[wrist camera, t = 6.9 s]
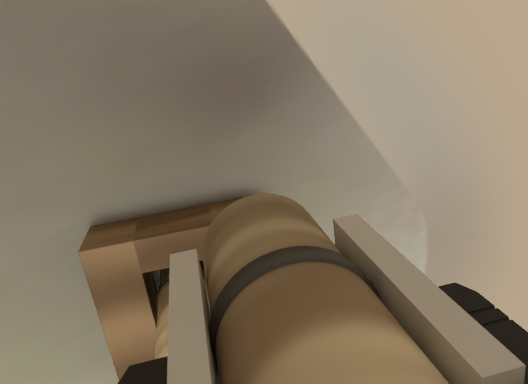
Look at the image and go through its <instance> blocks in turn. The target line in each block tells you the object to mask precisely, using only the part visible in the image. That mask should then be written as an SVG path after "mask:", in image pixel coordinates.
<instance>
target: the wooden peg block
mask: <svg viewBox="0 0 528 384" xmlns="http://www.w3.org/2000/svg"><path fill="white" fill-rule="evenodd" d="M239 199H242V198H238V199H233V200H228V201H223V202H218V203H213V204H208V205H202V206H197V207H192V208H187V209H182V210H177V211H172V212H166V213H161V214H156V215H151V216H146V217H141V218H136V219H130V220H125V221H120V222H115V223H110V224H105V225H99V226H94V227H90V229H89V231H88V233H87V235H86V237H85V239H84V241H83V243H82V245H81V247H80V250H79V252H78V253H79V256H80V259H81V263H82V266H83V269H84V272H85V275H86V278H87V281H88V284H89V288H90V291H91V294H92V297H93V300H94V303H95V306H96V309H97V313H98V316H99V319H100V322H101V325H102V328H103V331H104V334H105V338H106V341H107V344H108V347H109V350H110V353H111V356H112V359H113V362H114V366H115V369H116V372H117V375H118V378H119V381H120V379H121V378H122V376H123V375H124V373H125V372H126V370H127V368H128V367H129V366H130V365H134V364H138V363H142V362H146V361H150V360H154V359H158V358H162V357H166V356H168V317H169V273H170V254H174V253H178V252H183V251H188V250H192V249H197V254H198V258H199V263H200V268H201V272H202V277H203V281H204V286H205V290H206V295H207V300H208V292H207V285H206V278H205V270H204V263H203V256H202V252H203V242H204V238H205V235H206V232H207V230H208V228H209V226H210V225H211V223H212V221H213V220H214V219H215V218H216V216H217V215H218V214H219V213H220V212H221V211H222V210H223V209H224V208H226V207H227V206H229V205H230V204H232V203H233V202H235V201H237V200H239ZM156 270H160V285H159V292H158V294H157V290H156V286H155V282H154V278H153V274H152V271H156ZM208 304H209V300H208ZM209 309H210V307H209Z"/></svg>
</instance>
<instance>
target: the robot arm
mask: <svg viewBox="0 0 528 384" xmlns="http://www.w3.org/2000/svg"><path fill="white" fill-rule="evenodd" d="M333 224H334V235H335V246H336V247H337V248H338V250H339V251H340V252H341V253H342V254H343V256H345V257H347V258H348V259H349V260H351V261H352V262H353V263H355V264H356V266H357V267H358V268H359V269H360V270H361V271H362V272H363V273H364V274H365V276H366V277H367V278H368V279H369V280H370V281H371V283H372V284H373V286H374V287H375V289H376V290H377V292H378V294H379V296H380V298H381V302H382V303H383V304H384V305H385V306H386V308H387V309H388V310H389V311H390V312H391V314H392V315H393V316H394V317H395V318H396V320H397V321H398V322H399V323H400V325H401V326H402V327H403V328H404V329H405V331H406V332H407V333H408V334H409V335H410V337H411V338H412V339H413V340H414V341H415V343H416V344H417V345H418V346H419V348H420V349H421V350H422V351H423V352H424V354H425V355H426V356H427V357H428V358H429V360H430V361H431V362H432V363H433V364H434V366H435V367H436V368H437V369H438V370H439V372H440V373H441V374H442V375H443V377H444V378H445V379H446V380H447V381H448V383H449V384H528V332H527V331H525V330H524V329H523V328H522V327H520V326H519V325H518V324H516V323H515V322H514V321H513V320H509V318H508V316H506V315H505V314H504V313H503V312H502V311H500V310H499V309H498V308H497V309H495V307H494V305H493V304H492V303H490V302H489V301H488V300H486V299H485V298H484V297H483V296H482V295H480V294H479V293H478V292H476V291H474V290H471V289H469V288H467V287H464V286H462V285H459V284H457V283H451V284H447V285H443V286H439V287H438V286H436V285H435V284H434V283H433V282H432V281H431V280H430V279H429V278H428V277H427V276H425V275H424V274H423V273H422V272H421V271H420V270H419V269H418V268H416V267H415V266H414V265H413V264H412V263H411V262H410V261H409V260H408V259H406V258H405V257H404V256H403V255H402V254H401V253H400V252H399V251H397V250H396V249H395V248H394V247H393V246H392V245H391V244H390V243H389V242H387V241H386V240H385V239H384V238H383V237H382V236H381V235H380V234H379V233H377V232H376V231H375V230H374V229H373V228H372V227H371V226H370V225H368V224H367V223H366V222H365V221H364V220H363V219H362V218H361V217H360V216H358V215H357V214H354V215H349V216H345V217H340V218H336V219H333ZM210 316H211V314H210V309H209V304H208V300H207V295H206V290H205V286H204V281H203V277H202V272H201V268H200V263H199V258H198V254H197V249H192V250H188V251H183V252H178V253H174V254H170V273H169V317H168V356H166V357H162V358H158V359H154V360H150V361H146V362H142V363H138V364H134V365H130V366H129V367H128V368H127V370H126V372H125V373H124V375H123V376H122V378H121V379H120V381H119V383H118V384H220V380H219V376H218V374H217V370H216V365H215V361H214V356H213V352H212V348H211V341H210V333H209V322H210Z"/></svg>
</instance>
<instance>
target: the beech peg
mask: <svg viewBox="0 0 528 384" xmlns="http://www.w3.org/2000/svg"><path fill="white" fill-rule="evenodd" d="M202 256H203V263H204V270H205V278H206V285H207V292H208V300H209V307H210V314H211V316H210V322H209V333H210V341H211V348H212V352H213V356H214V361H215V365H216V370H217V374H218V376H219V380H220V384H449V383H448V381H447V380H446V379H445V378H444V377H443V375H442V374H441V373H440V372H439V370H438V369H437V368H436V367H435V366H434V364H433V363H432V362H431V361H430V360H429V358H428V357H427V356H426V355H425V354H424V352H423V351H422V350H421V349H420V348H419V346H418V345H417V344H416V343H415V341H414V340H413V339H412V338H411V337H410V335H409V334H408V333H407V332H406V331H405V329H404V328H403V327H402V326H401V325H400V323H399V322H398V321H397V320H396V318H395V317H394V316H393V315H392V314H391V312H390V311H389V310H388V309H387V308H386V306H385V305H384V304H383V303H382V302H381V298H380V296H379V294H378V292H377V290H376V289H375V287H374V286H373V284H372V283H371V281H370V280H369V279H368V278H367V277H366V276H365V274H364V273H363V272H362V271H361V270H360V269H359V268H358V267H357V266H356V264H355V263H353V262H352V261H351V260H349V259H348V258H347V257H345V256H343V254H342V253H341V252H340V251H339V250H338V248H337V247H336V246H335V245H334V243H333V242H332V241H331V240H330V239H329V237H328V236H327V235H326V234H325V233H324V231H323V230H322V229H321V228H320V227H319V225H318V224H317V223H316V222H315V220H314V219H313V218H312V217H311V216H310V214H309V213H308V212H307V211H306V210H305V209H304V208H303V207H302V206H301V205H299V204H298V203H297V202H295V201H293V200H292V199H289V198H287V197H284V196H280V195H276V194H256V195H251V196H247V197H244V198H242V199H239V200H237V201H235V202H233V203H232V204H230V205H229V206H227V207H226V208H224V209H223V210H222V211H221V212H220V213H219V214H218V215H217V216H216V218H215V219H214V220H213V221H212V223H211V225H210V226H209V228H208V230H207V232H206V235H205V238H204V242H203V252H202Z"/></svg>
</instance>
